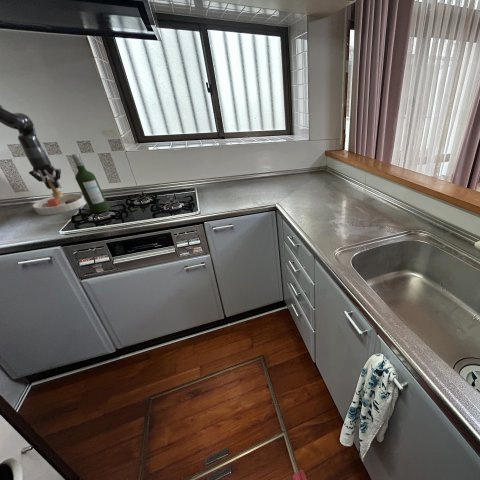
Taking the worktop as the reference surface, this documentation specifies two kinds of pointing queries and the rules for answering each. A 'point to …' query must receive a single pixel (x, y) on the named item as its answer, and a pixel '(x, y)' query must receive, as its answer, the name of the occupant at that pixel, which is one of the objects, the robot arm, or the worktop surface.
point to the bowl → (45, 209)
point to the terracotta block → (53, 202)
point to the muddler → (54, 190)
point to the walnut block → (70, 201)
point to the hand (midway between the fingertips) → (53, 188)
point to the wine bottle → (89, 187)
